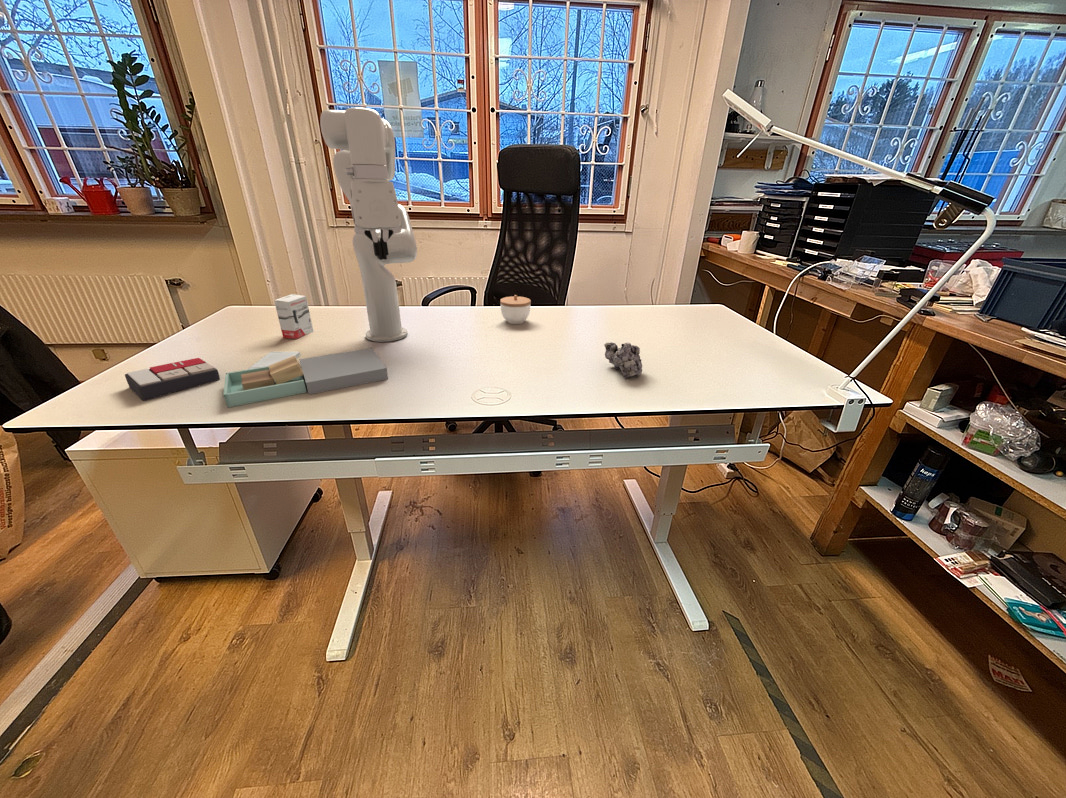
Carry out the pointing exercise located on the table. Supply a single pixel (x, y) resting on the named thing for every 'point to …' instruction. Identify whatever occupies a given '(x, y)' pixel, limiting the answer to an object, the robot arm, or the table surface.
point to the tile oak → (285, 370)
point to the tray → (258, 389)
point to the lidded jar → (515, 309)
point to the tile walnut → (257, 380)
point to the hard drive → (273, 358)
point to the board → (342, 370)
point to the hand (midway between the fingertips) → (382, 258)
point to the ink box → (294, 316)
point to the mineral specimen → (624, 358)
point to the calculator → (170, 378)
